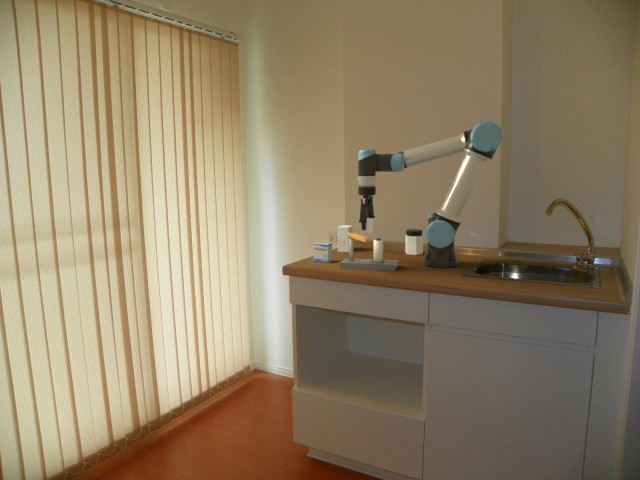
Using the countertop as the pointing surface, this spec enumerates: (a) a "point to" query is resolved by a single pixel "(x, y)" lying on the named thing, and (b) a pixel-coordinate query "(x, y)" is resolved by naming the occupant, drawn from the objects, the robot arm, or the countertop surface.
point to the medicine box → (322, 252)
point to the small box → (343, 237)
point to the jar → (414, 242)
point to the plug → (378, 250)
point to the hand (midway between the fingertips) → (367, 235)
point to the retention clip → (358, 237)
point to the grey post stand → (366, 262)
